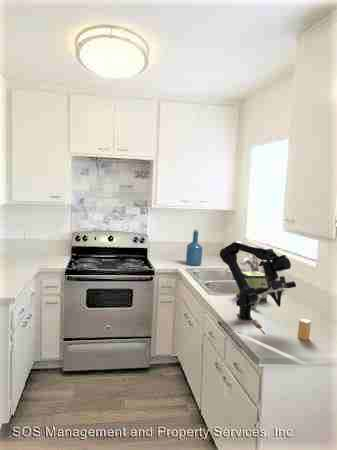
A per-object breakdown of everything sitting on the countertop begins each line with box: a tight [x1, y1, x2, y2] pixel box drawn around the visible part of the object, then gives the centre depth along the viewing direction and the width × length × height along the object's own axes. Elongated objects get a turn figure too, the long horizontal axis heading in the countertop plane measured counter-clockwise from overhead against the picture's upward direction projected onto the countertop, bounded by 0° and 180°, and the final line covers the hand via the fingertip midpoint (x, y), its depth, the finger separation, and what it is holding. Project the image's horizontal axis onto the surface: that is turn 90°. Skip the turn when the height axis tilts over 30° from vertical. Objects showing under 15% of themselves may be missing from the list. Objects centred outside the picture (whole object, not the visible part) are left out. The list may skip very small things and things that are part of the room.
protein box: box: [236, 271, 268, 302], centre depth 220 cm, size 10×16×16 cm
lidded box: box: [297, 318, 312, 341], centre depth 160 cm, size 4×4×8 cm
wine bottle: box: [185, 229, 203, 267], centre depth 307 cm, size 14×13×30 cm
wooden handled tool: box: [251, 319, 266, 335], centre depth 170 cm, size 14×2×2 cm, turn 5°
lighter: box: [251, 295, 262, 310], centre depth 201 cm, size 7×2×8 cm, turn 55°
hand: (279, 306), depth 169 cm, fingers closed
